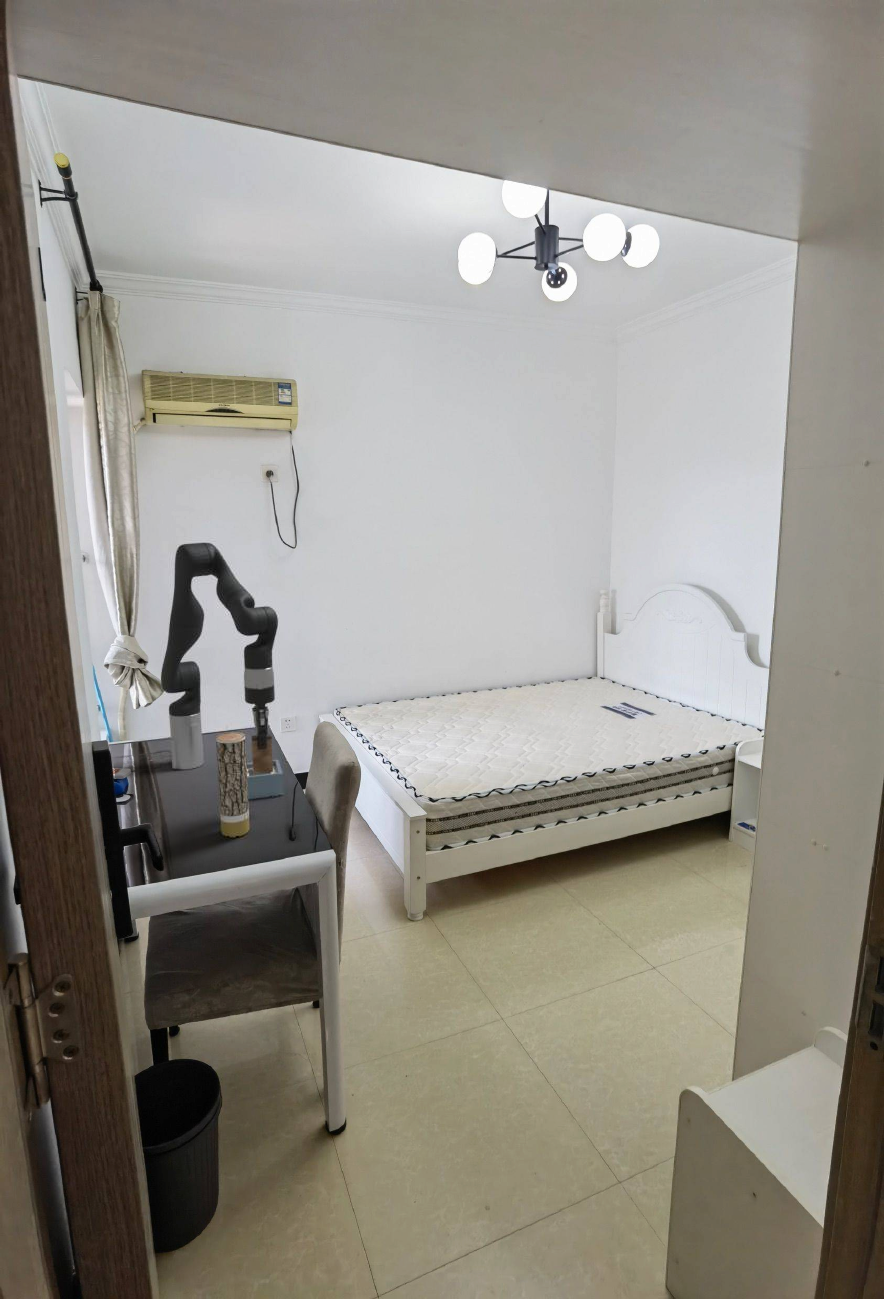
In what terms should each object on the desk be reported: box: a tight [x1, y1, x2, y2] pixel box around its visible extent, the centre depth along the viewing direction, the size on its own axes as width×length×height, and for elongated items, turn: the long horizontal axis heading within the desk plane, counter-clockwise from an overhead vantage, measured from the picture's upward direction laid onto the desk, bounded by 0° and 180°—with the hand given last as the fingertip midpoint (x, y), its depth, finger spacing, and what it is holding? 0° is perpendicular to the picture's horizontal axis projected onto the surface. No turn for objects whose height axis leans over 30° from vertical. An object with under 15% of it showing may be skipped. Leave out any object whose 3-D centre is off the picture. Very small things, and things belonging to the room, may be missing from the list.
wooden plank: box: [250, 733, 274, 774], centre depth 181 cm, size 5×2×10 cm, turn 109°
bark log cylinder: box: [215, 732, 250, 838], centre depth 169 cm, size 7×7×25 cm
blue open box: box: [246, 759, 284, 800], centre depth 197 cm, size 12×12×8 cm
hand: (261, 747), depth 180 cm, fingers closed on wooden plank, 2 cm apart
